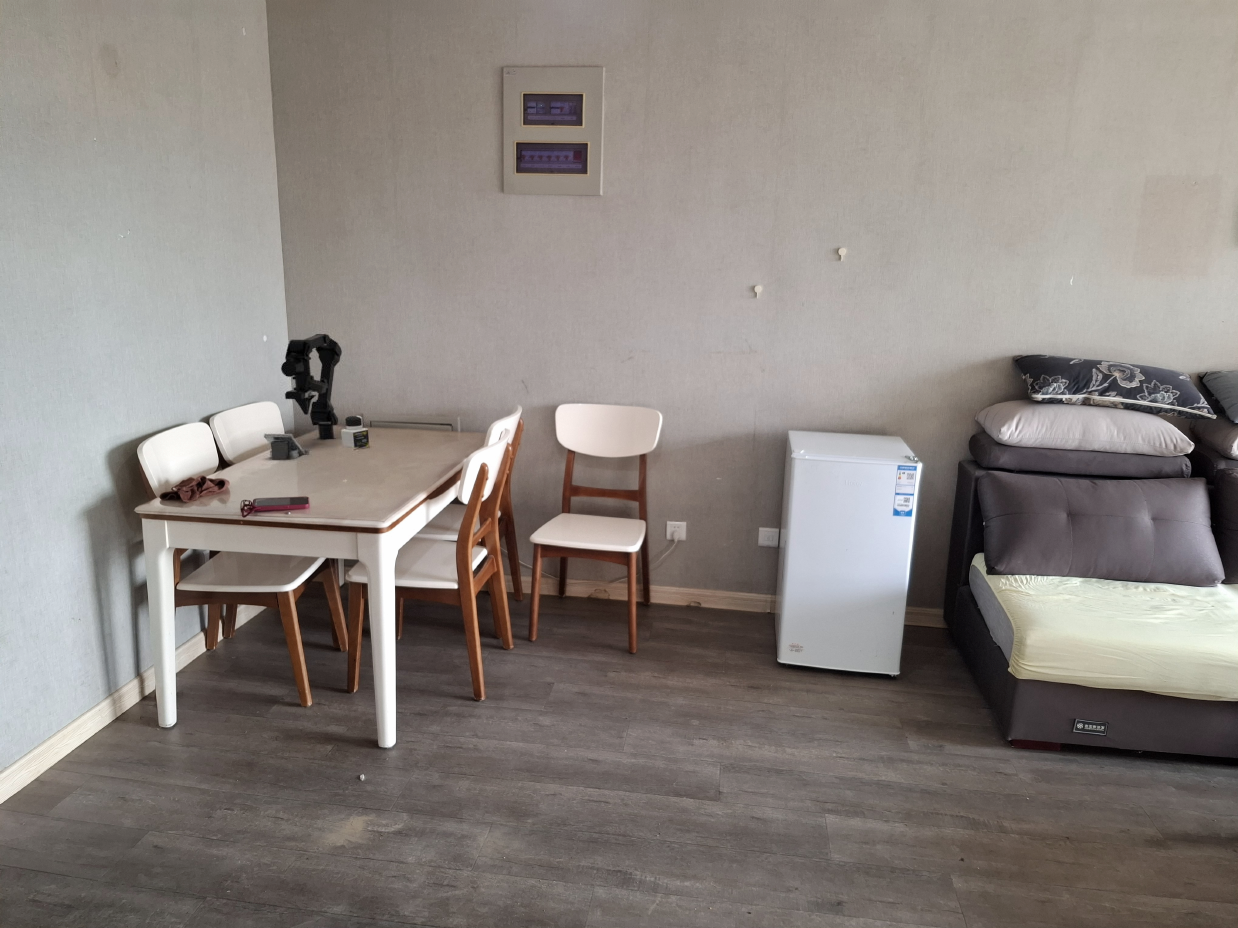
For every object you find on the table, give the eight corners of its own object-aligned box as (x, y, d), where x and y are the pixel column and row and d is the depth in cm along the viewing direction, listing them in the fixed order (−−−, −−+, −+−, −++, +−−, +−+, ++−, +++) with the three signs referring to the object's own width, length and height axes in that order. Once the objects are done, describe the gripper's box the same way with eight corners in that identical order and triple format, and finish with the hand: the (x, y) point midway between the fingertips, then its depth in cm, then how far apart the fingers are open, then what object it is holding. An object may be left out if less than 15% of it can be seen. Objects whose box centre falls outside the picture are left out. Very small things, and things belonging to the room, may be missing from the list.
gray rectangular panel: (278, 453, 303) (279, 451, 303) (304, 454, 302) (305, 451, 302) (263, 436, 292) (264, 433, 293) (290, 437, 291) (291, 434, 292)
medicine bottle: (354, 450, 312) (351, 419, 309) (342, 448, 316) (339, 417, 313) (369, 446, 318) (367, 416, 315) (357, 444, 322) (355, 414, 319)
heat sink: (274, 453, 303) (272, 436, 302) (309, 454, 302) (307, 436, 301) (261, 460, 294) (259, 441, 293) (297, 460, 293) (295, 442, 291)
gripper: (311, 376, 300) (315, 419, 303) (333, 370, 318) (337, 410, 322) (282, 376, 301) (286, 418, 305) (306, 370, 319) (309, 410, 323)
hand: (306, 414), depth 313 cm, fingers closed
